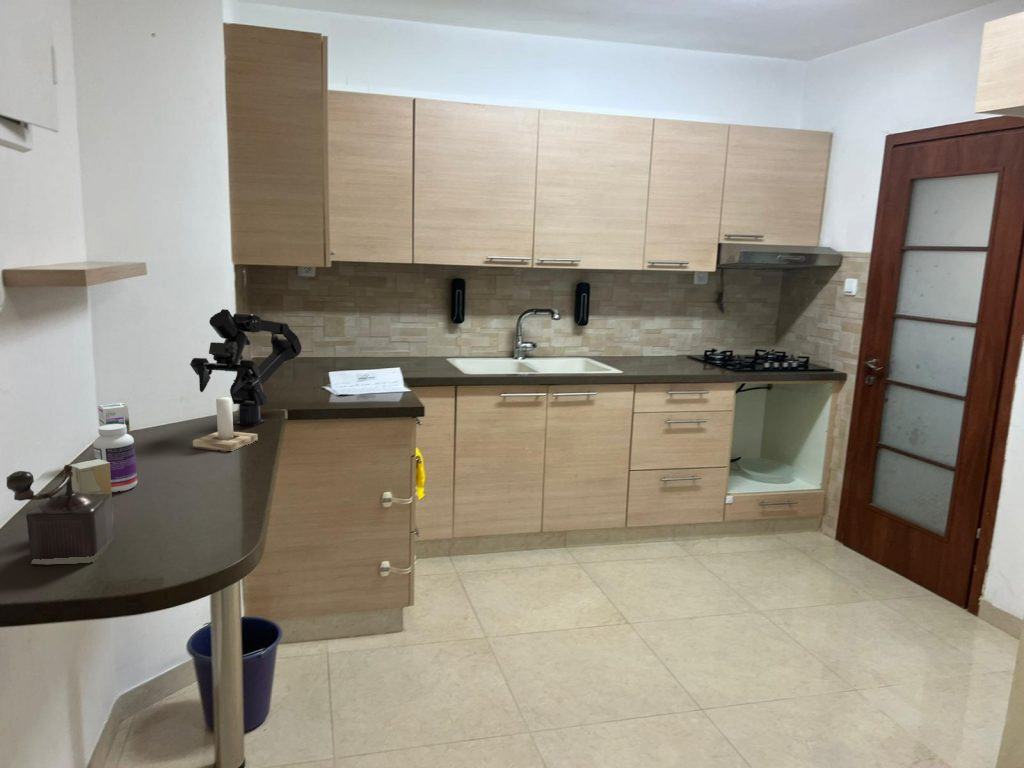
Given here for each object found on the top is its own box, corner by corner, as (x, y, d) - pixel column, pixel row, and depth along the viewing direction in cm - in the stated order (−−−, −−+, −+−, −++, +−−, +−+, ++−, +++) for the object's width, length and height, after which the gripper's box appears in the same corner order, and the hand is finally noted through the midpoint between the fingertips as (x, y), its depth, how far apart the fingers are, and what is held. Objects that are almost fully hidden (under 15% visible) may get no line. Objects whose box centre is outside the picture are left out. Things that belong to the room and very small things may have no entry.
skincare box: (82, 529, 140) (77, 469, 137) (70, 524, 142) (65, 465, 140) (115, 519, 145) (110, 461, 143) (103, 514, 147) (98, 457, 145)
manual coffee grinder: (52, 542, 133) (42, 449, 130) (116, 539, 135) (108, 447, 132) (10, 580, 118) (-2, 476, 115) (83, 576, 120) (73, 474, 117)
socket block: (221, 437, 207) (220, 430, 207) (257, 440, 205) (257, 434, 204) (193, 447, 196) (192, 440, 196) (231, 452, 193) (231, 444, 193)
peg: (220, 440, 202) (218, 397, 200) (235, 440, 202) (233, 397, 200) (216, 444, 198) (214, 400, 196) (231, 444, 199) (229, 400, 196)
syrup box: (107, 465, 179) (103, 408, 177) (102, 459, 184) (97, 404, 181) (132, 461, 183) (128, 405, 180) (126, 455, 187) (122, 401, 185)
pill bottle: (144, 482, 167) (140, 422, 164) (125, 494, 159) (120, 431, 156) (110, 481, 167) (105, 421, 165) (89, 493, 159) (84, 430, 157)
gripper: (191, 330, 206) (172, 374, 198) (254, 332, 205) (238, 377, 196) (206, 353, 216) (189, 396, 207) (266, 355, 214) (252, 399, 205)
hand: (216, 392), depth 204 cm, fingers open, 9 cm apart
